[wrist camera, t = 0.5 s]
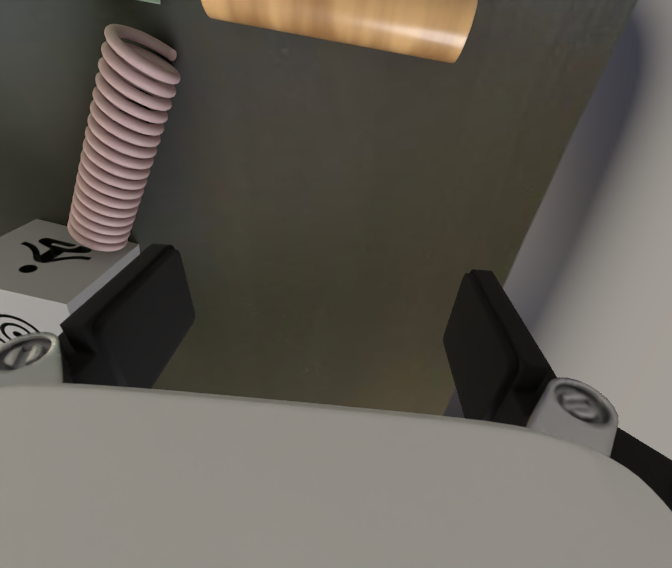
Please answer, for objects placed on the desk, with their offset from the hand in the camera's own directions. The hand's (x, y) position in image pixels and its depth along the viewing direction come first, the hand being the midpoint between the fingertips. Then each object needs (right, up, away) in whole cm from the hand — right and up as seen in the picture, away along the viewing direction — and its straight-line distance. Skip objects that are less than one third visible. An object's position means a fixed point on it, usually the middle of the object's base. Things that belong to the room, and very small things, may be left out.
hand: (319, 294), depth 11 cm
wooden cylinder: (+1, +19, +11) cm, 22 cm away
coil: (-17, +12, +17) cm, 27 cm away
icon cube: (-26, +2, +25) cm, 36 cm away
